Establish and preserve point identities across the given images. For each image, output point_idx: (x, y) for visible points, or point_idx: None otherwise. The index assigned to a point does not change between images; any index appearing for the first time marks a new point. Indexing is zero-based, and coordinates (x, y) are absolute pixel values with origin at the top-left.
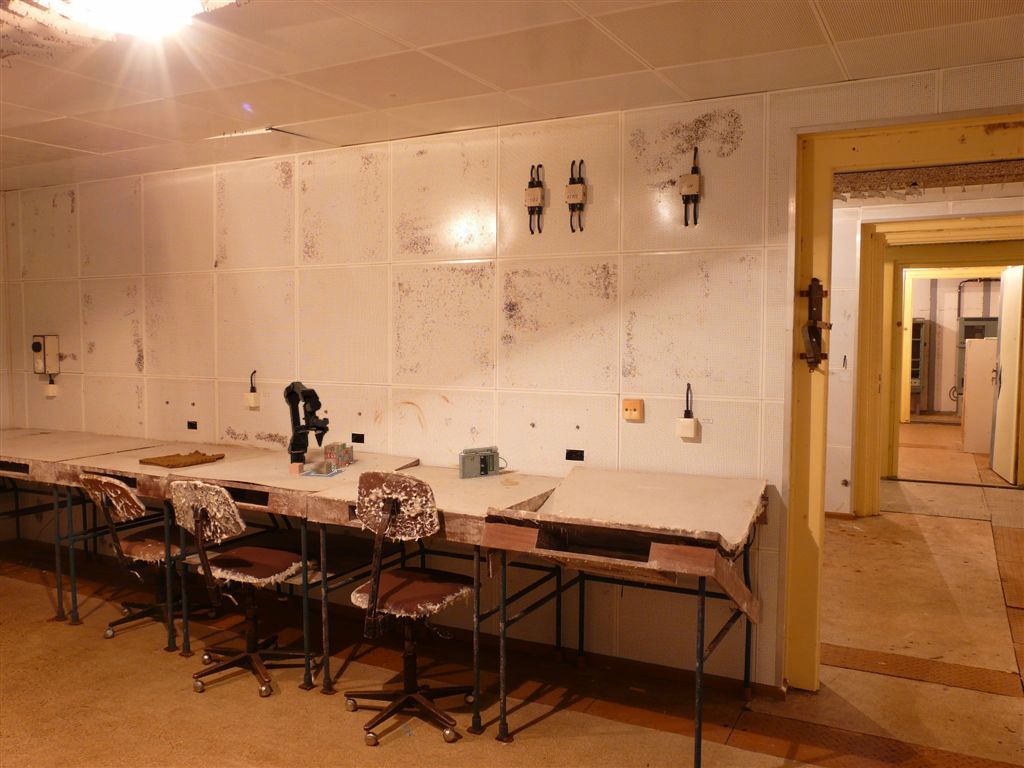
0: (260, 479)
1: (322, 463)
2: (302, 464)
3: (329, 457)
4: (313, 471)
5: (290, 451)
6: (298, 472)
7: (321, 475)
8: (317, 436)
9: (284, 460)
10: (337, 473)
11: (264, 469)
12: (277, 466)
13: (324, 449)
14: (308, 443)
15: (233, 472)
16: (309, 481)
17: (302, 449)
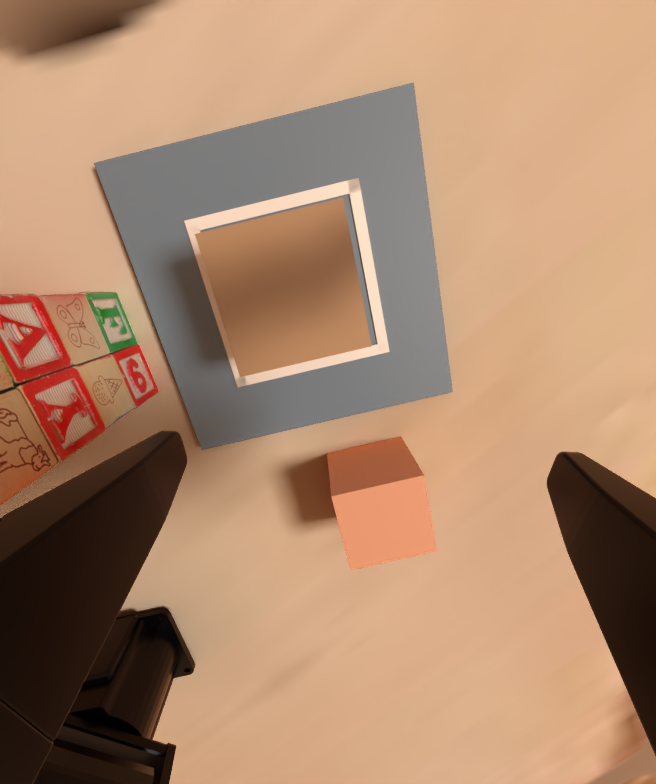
0: None
1: (329, 264)
2: (348, 487)
3: (72, 376)
4: (280, 405)
5: (165, 781)
6: (406, 446)
7: (386, 230)
8: (2, 742)
9: None
10: (251, 142)
11: (334, 706)
12: (231, 708)
13: (29, 480)
14: (608, 487)
15: (459, 761)
16: (579, 196)
17: (73, 749)
